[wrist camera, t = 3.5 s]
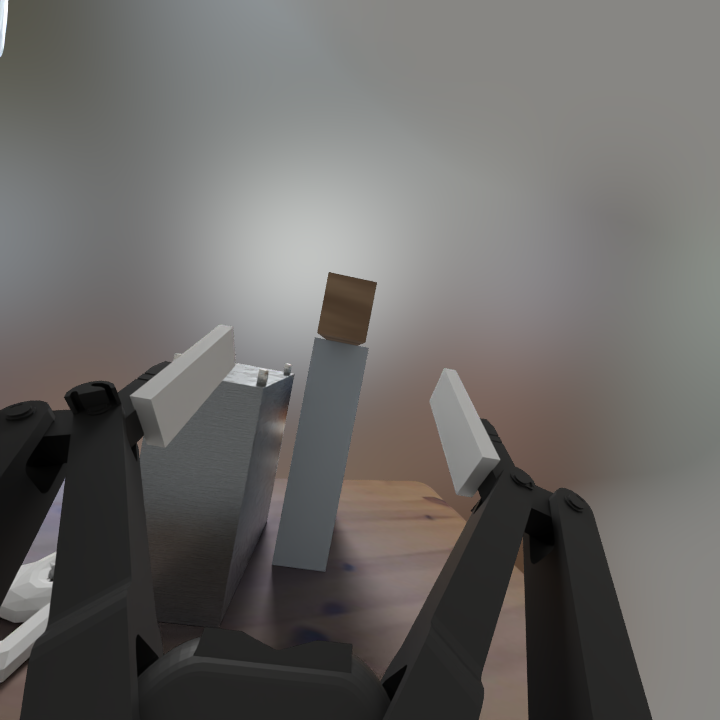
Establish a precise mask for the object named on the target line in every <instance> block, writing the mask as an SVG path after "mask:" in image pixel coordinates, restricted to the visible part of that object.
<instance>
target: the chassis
mask: <svg viewBox="0 0 720 720" xmlns="http://www.w3.org/2000/svg"><path fill="white" fill-rule="evenodd" d="M181 355H182V354H175V355H174V360H176V359H177V358H178V357H179V356H181ZM291 367H292V365H291V364H285V368H284V372H282V371H276V370H271V369H266V368H260V367H255V366H249V365H243V364H238V363H236V365H235V366H234V368H233V369H232V370H231V371H230V372H229V373H228V375H227V376H226V377H225V378H224V379H223V381H222V382H221V383H220V384H219V385H218V386H217V388H216V389H215V390H214V391H213V392H212V393H211V395H210V396H209V397H208V398H207V399H206V401H205V402H204V403H203V404H202V405H201V406H200V408H199V409H198V410H197V411H196V412H195V413H194V415H193V416H192V417H191V418H190V419H189V421H188V422H187V423H186V424H185V425H184V426H183V428H182V429H181V430H180V431H179V432H178V433H177V435H176V436H175V437H174V438H173V439H172V441H171V442H170V443H169V444H168V445H167V446H166V448H164V447H158V446H152V445H147V443H146V440H145V438H144V437H143V442H142V448H141V454H140V468H141V477H142V487H143V496H144V506H145V516H146V525H147V535H148V544H149V554H150V564H151V573H152V583H153V592H154V602H155V611H156V618H157V622H166V623H175V624H184V625H193V626H202V627H211V628H219V626H220V624H221V622H222V620H223V617H224V615H225V613H226V611H227V608H228V606H229V604H230V602H231V600H232V597H233V595H234V593H235V591H236V588H237V586H238V584H239V582H240V580H241V577H242V575H243V573H244V571H245V568H246V566H247V564H248V562H249V560H250V557H251V555H252V553H253V551H254V548H255V546H256V544H257V542H258V540H259V537H260V535H261V533H262V531H263V528H264V526H265V524H266V522H267V518H268V512H269V507H270V502H271V497H272V491H273V486H274V481H275V475H276V469H277V464H278V459H279V454H280V449H281V444H282V438H283V432H284V427H285V422H286V417H287V411H288V406H289V401H290V396H291V391H292V385H293V379H294V375H295V374H293V373H291Z"/></svg>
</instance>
